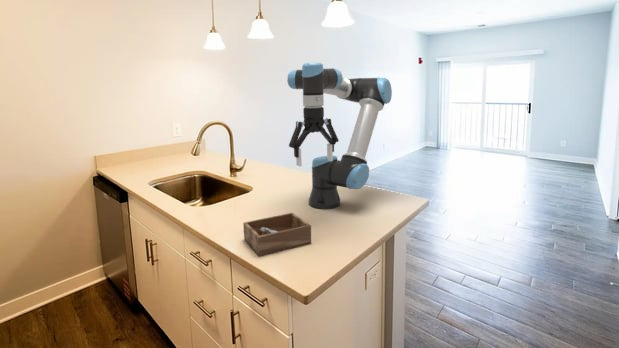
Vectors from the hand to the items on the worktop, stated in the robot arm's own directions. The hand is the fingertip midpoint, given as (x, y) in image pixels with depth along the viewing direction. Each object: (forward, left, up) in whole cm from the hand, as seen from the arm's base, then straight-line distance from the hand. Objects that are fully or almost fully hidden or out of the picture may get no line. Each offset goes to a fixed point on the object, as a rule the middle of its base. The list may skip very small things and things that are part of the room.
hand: (314, 163), depth 134 cm
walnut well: (+4, -19, -27) cm, 33 cm away
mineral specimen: (+5, -19, -26) cm, 32 cm away
